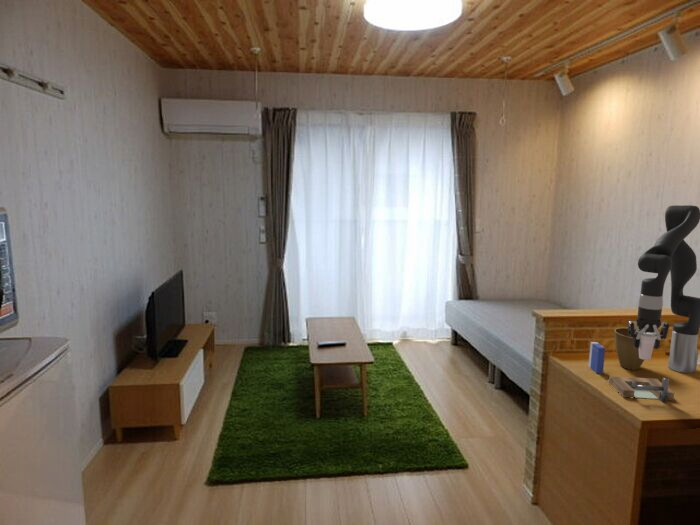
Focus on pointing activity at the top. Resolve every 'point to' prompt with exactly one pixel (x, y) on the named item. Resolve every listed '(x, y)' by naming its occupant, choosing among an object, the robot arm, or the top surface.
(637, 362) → the plant pot
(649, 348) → the smoothie
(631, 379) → the tan frame
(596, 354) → the walkman
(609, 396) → the top surface
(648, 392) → the bay mat
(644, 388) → the dark grey piece
